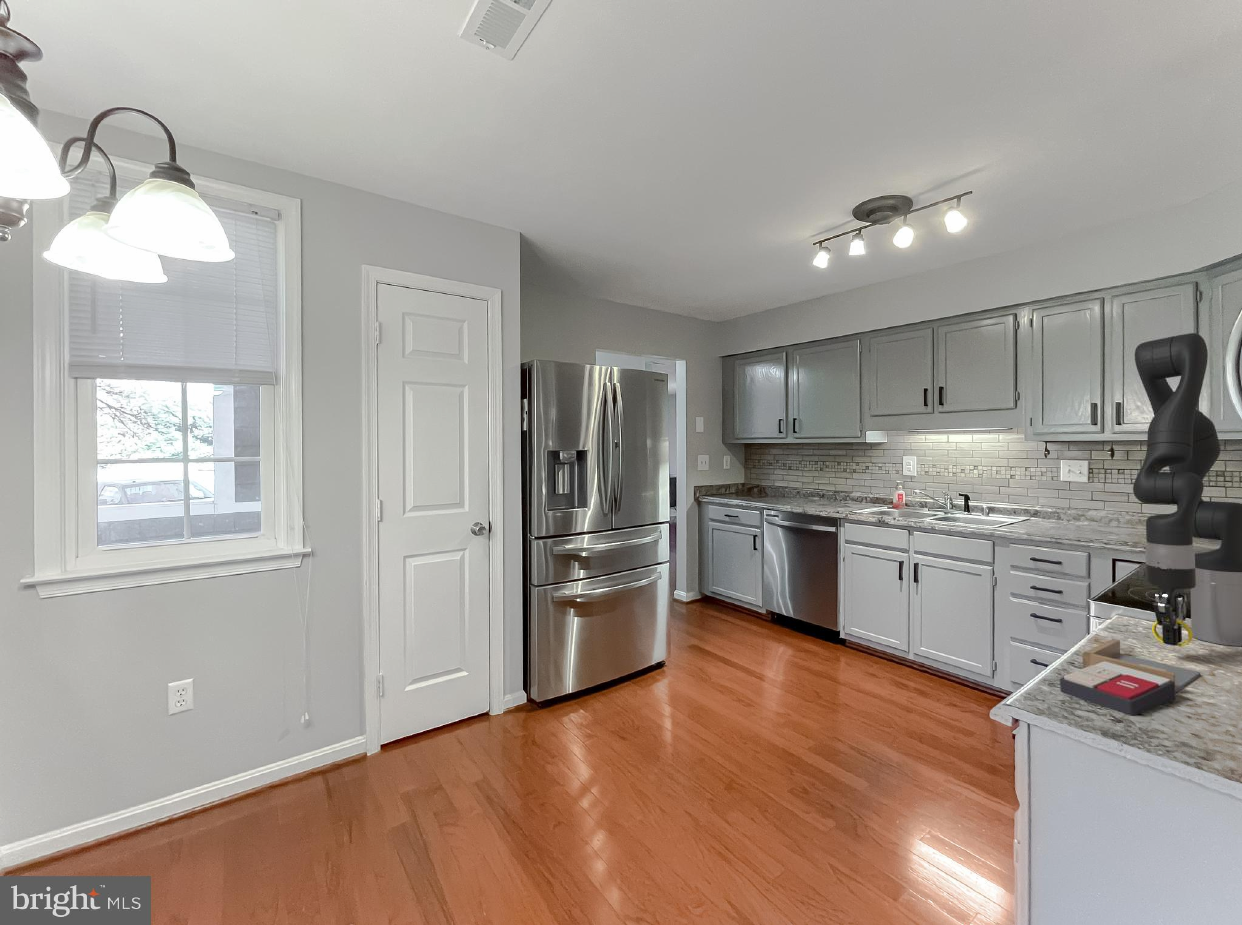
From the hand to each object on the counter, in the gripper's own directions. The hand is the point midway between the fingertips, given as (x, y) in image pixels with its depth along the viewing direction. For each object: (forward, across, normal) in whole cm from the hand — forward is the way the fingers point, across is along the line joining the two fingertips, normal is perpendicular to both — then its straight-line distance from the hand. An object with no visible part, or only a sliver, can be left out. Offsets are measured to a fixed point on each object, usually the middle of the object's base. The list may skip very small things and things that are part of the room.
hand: (1172, 642), depth 116 cm
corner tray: (+4, +14, -2) cm, 14 cm away
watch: (+1, 0, 0) cm, 1 cm away
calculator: (+4, +31, 0) cm, 31 cm away
